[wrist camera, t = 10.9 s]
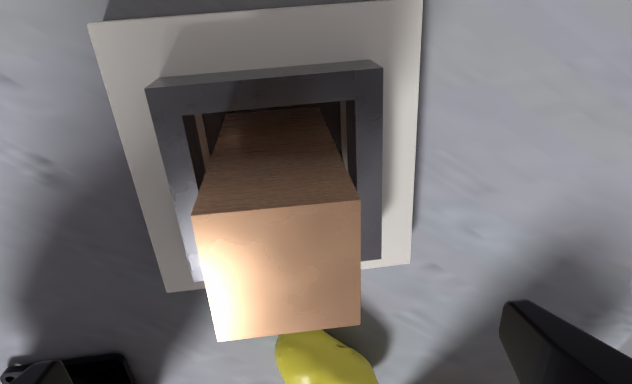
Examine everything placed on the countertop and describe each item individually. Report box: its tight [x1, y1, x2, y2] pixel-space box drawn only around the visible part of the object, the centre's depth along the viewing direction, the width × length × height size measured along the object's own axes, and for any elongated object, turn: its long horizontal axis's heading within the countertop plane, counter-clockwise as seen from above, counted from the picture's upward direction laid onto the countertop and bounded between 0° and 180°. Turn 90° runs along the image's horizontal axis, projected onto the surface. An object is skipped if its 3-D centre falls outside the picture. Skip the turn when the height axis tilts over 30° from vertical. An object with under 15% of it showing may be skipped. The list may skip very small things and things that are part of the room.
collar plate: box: [86, 0, 423, 293], centre depth 17 cm, size 12×12×4 cm
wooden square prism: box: [190, 107, 361, 342], centre depth 14 cm, size 4×4×9 cm
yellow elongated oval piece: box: [275, 330, 378, 384], centre depth 23 cm, size 4×8×4 cm, turn 37°
